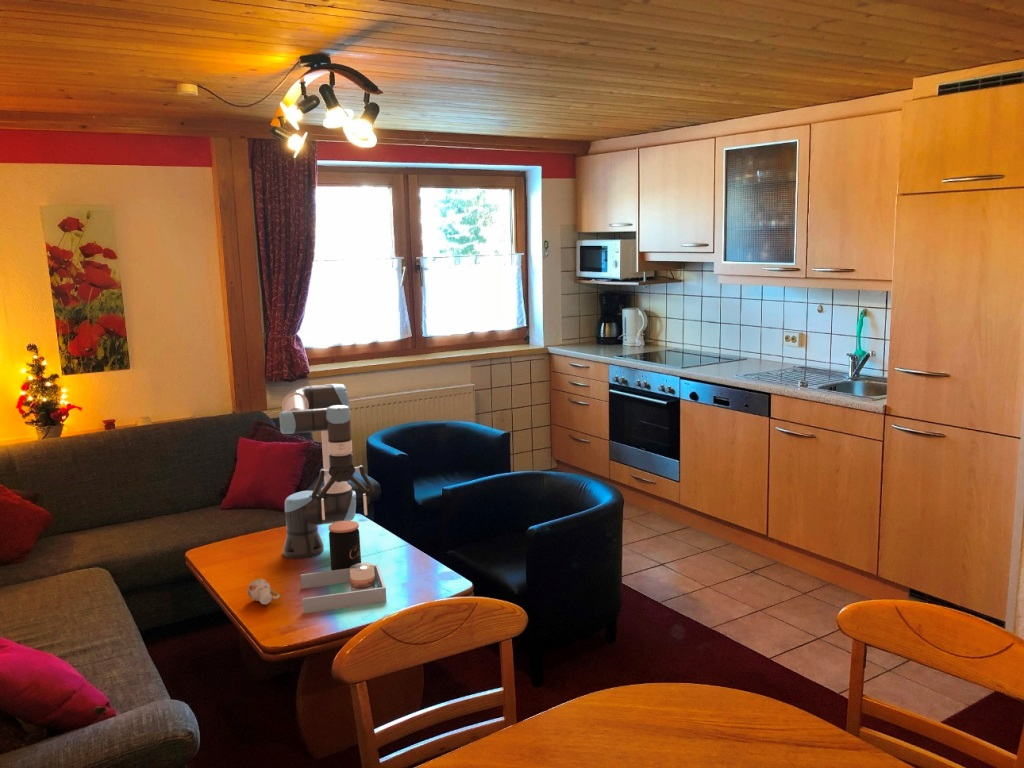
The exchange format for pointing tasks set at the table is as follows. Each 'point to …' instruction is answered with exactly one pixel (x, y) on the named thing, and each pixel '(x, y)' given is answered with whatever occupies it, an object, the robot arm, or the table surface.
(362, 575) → the round glass jar
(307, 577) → the grey u-shaped low frame
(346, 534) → the coffee jar
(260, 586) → the mug
